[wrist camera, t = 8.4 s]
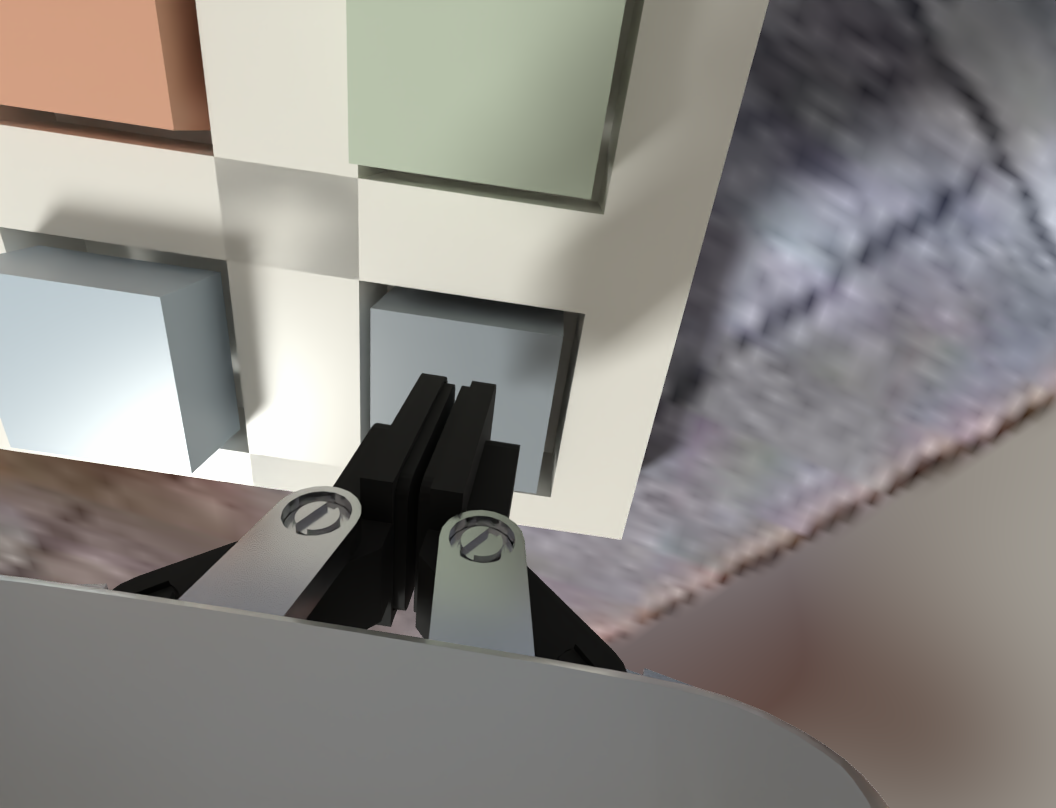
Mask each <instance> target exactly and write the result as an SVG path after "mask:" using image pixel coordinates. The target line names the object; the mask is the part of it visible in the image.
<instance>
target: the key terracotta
mask: <svg viewBox="0 0 1056 808" xmlns="http://www.w3.org/2000/svg"><path fill="white" fill-rule="evenodd" d="M0 104H1V105H7V106H14V107H21V108H27V109H34V110H41V111H47V112H54V113H61V114H67V115H74V116H81V117H87V118H94V119H101V120H107V121H114V122H121V123H127V124H134V125H141V126H147V127H154V128H161V129H167V130H211V127H210V119H209V111H208V102H207V94H206V86H205V77H204V69H203V60H202V52H201V44H200V35H199V27H198V19H197V10H196V2H195V0H0Z"/></svg>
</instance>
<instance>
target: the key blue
mask: <svg viewBox="0 0 1056 808" xmlns="http://www.w3.org/2000/svg"><path fill="white" fill-rule="evenodd" d="M0 418H1V421H2V424H3V427H4V430H5V432H6V435H7V438H8V441H9V444H10V447H12V448H19V449H25V450H32V451H39V452H46V453H53V454H60V455H66V456H73V457H80V458H87V459H94V460H101V461H107V462H114V463H121V464H128V465H135V466H141V467H148V468H155V469H162V470H169V471H176V472H182V473H189V474H192V473H193V472H194V471H195V470H196V469H198V468H199V467H200V466H201V465H202V464H203V463H204V462H205V461H206V460H207V459H208V458H210V457H211V456H212V455H213V454H214V453H215V452H216V451H217V450H218V449H219V448H220V447H222V446H223V445H224V444H225V443H226V442H227V441H228V440H229V439H230V438H231V437H232V436H233V435H235V434H236V433H237V432H238V431H239V430H240V423H239V415H238V407H237V399H236V391H235V383H234V375H233V367H232V359H231V351H230V343H229V335H228V327H227V319H226V311H225V303H224V295H223V287H222V279H221V272H216V271H209V270H202V269H195V268H189V267H182V266H175V265H168V264H162V263H155V262H148V261H142V260H135V259H128V258H121V257H115V256H108V255H101V254H94V253H88V252H81V251H74V250H68V249H61V248H54V247H47V246H41V245H38V246H34V247H29V248H25V249H20V250H15V251H11V252H6V253H2V254H0Z"/></svg>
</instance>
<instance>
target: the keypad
mask: <svg viewBox="0 0 1056 808" xmlns="http://www.w3.org/2000/svg"><path fill="white" fill-rule="evenodd" d="M195 2H196V10H197V19H198V27H199V35H200V44H201V52H202V60H203V69H204V77H205V86H206V94H207V102H208V111H209V119H210V127H211V130H167V129H161V128H154V127H147V126H141V125H134V124H127V123H121V122H114V121H107V120H101V119H94V118H87V117H81V116H74V115H67V114H61V113H54V112H47V111H41V110H34V109H27V108H21V107H14V106H7V105H1V104H0V254H2V253H6V252H11V251H15V250H20V249H25V248H29V247H34V246H38V245H41V246H47V247H54V248H61V249H68V250H74V251H81V252H88V253H94V254H101V255H108V256H115V257H121V258H128V259H135V260H142V261H148V262H155V263H162V264H168V265H175V266H182V267H189V268H195V269H202V270H209V271H216V272H221V279H222V287H223V295H224V303H225V311H226V319H227V327H228V335H229V343H230V351H231V359H232V367H233V375H234V383H235V391H236V399H237V407H238V415H239V423H240V430H239V431H238V432H237V433H236V434H235V435H233V436H232V437H231V438H230V439H229V440H228V441H227V442H226V443H225V444H224V445H223V446H222V447H220V448H219V449H218V450H217V451H216V452H215V453H214V454H213V455H212V456H211V457H210V458H208V459H207V460H206V461H205V462H204V463H203V464H202V465H201V466H200V467H199V468H198V469H196V470H195V471H194V472H193V473H192V474H189V473H182V472H176V471H169V470H162V469H155V468H148V467H141V466H135V465H128V464H121V463H114V462H107V461H101V460H94V459H87V458H80V457H73V456H66V455H60V454H53V453H46V452H39V451H32V450H25V449H19V448H12V447H10V444H9V441H8V438H7V435H6V432H5V430H4V427H3V424H2V421H1V418H0V449H6V450H12V451H19V452H26V453H33V454H40V455H47V456H53V457H60V458H67V459H74V460H81V461H88V462H94V463H101V464H108V465H115V466H122V467H128V468H135V469H142V470H149V471H156V472H163V473H169V474H176V475H183V476H190V477H197V478H204V479H210V480H217V481H224V482H231V483H238V484H245V485H251V486H258V487H265V488H272V489H279V490H286V491H292V492H296V491H299V490H301V489H305V488H310V487H315V486H331V487H333V485H334V484H335V482H336V481H337V479H338V478H339V476H340V475H341V473H342V472H343V470H344V469H345V467H346V466H347V464H348V462H349V461H350V459H351V458H352V456H353V455H354V453H355V452H356V450H357V449H358V447H359V446H360V444H361V442H362V441H363V439H364V438H365V436H366V435H367V433H368V432H369V430H370V308H371V307H372V306H373V305H374V304H376V303H377V302H378V301H379V300H380V299H381V298H382V297H383V296H384V295H385V294H387V293H388V292H389V291H390V290H391V289H392V288H393V287H394V286H401V287H408V288H414V289H421V290H428V291H434V292H441V293H448V294H455V295H461V296H468V297H475V298H481V299H488V300H495V301H502V302H508V303H515V304H522V305H529V306H535V307H542V308H549V309H555V310H562V311H564V320H563V342H562V347H561V353H560V359H559V365H558V370H557V376H556V382H555V388H554V394H553V399H552V405H551V411H550V417H549V423H548V428H547V434H546V440H545V446H544V451H543V457H542V463H541V469H540V475H539V480H538V486H537V492H536V494H535V493H528V492H521V491H513V498H512V504H511V510H510V516H509V519H510V520H512V521H513V522H515V523H516V524H518V525H525V526H531V527H538V528H545V529H552V530H559V531H566V532H572V533H579V534H586V535H593V536H600V537H607V538H613V539H620V540H621V539H622V535H623V531H624V528H625V524H626V521H627V517H628V513H629V510H630V506H631V502H632V499H633V495H634V491H635V488H636V484H637V480H638V477H639V473H640V470H641V466H642V462H643V459H644V455H645V451H646V448H647V444H648V440H649V437H650V433H651V429H652V426H653V422H654V418H655V415H656V411H657V408H658V404H659V400H660V397H661V393H662V389H663V386H664V382H665V378H666V375H667V371H668V367H669V364H670V360H671V357H672V353H673V349H674V346H675V342H676V338H677V335H678V331H679V327H680V324H681V320H682V316H683V313H684V309H685V305H686V302H687V298H688V295H689V291H690V287H691V284H692V280H693V276H694V273H695V269H696V265H697V262H698V258H699V254H700V251H701V247H702V244H703V240H704V236H705V233H706V229H707V225H708V222H709V218H710V214H711V211H712V207H713V203H714V200H715V196H716V192H717V189H718V185H719V182H720V178H721V174H722V171H723V167H724V163H725V160H726V156H727V152H728V149H729V145H730V141H731V138H732V134H733V131H734V127H735V123H736V120H737V116H738V112H739V109H740V105H741V101H742V98H743V94H744V90H745V87H746V83H747V79H748V76H749V72H750V69H751V65H752V61H753V58H754V54H755V50H756V47H757V43H758V39H759V36H760V32H761V28H762V25H763V21H764V18H765V14H766V10H767V7H768V3H769V0H626V3H625V8H624V14H623V20H622V25H621V31H620V37H619V42H618V48H617V54H616V59H615V65H614V71H613V77H612V82H611V88H610V94H609V99H608V105H607V111H606V116H605V122H604V128H603V133H602V139H601V145H600V150H599V156H598V162H597V167H596V173H595V179H594V184H593V190H592V196H591V200H590V199H584V198H577V197H570V196H564V195H557V194H550V193H544V192H537V191H530V190H523V189H517V188H510V187H503V186H497V185H490V184H483V183H477V182H470V181H463V180H457V179H450V178H443V177H437V176H430V175H423V174H417V173H410V172H403V171H397V170H390V169H383V168H377V167H370V166H363V165H357V164H350V163H349V151H348V88H347V26H346V0H195Z"/></svg>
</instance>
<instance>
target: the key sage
mask: <svg viewBox="0 0 1056 808" xmlns="http://www.w3.org/2000/svg"><path fill="white" fill-rule="evenodd" d="M625 3H626V0H346V26H347V88H348V151H349V163H350V164H357V165H363V166H370V167H377V168H383V169H390V170H397V171H403V172H410V173H417V174H423V175H430V176H437V177H443V178H450V179H457V180H463V181H470V182H477V183H483V184H490V185H497V186H503V187H510V188H517V189H523V190H530V191H537V192H544V193H550V194H557V195H564V196H570V197H577V198H584V199H590V200H591V196H592V190H593V184H594V179H595V173H596V167H597V162H598V156H599V150H600V145H601V139H602V133H603V128H604V122H605V116H606V111H607V105H608V99H609V94H610V88H611V82H612V77H613V71H614V65H615V59H616V54H617V48H618V42H619V37H620V31H621V25H622V20H623V14H624V8H625Z"/></svg>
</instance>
